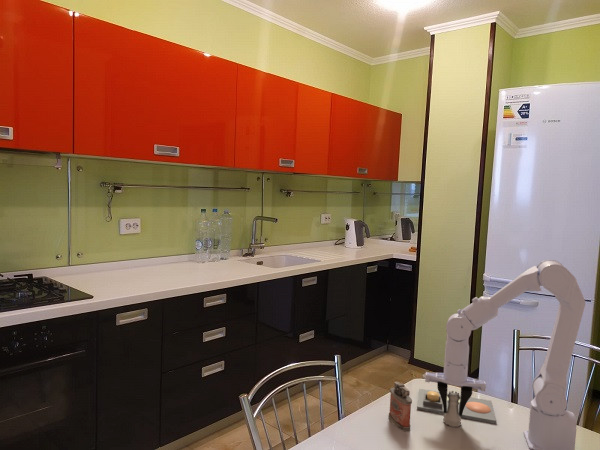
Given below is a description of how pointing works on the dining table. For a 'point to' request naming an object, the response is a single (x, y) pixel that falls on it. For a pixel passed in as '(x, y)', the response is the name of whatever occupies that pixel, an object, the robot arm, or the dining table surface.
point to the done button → (432, 396)
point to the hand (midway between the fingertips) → (452, 412)
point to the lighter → (400, 406)
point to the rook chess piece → (452, 410)
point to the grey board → (472, 409)
